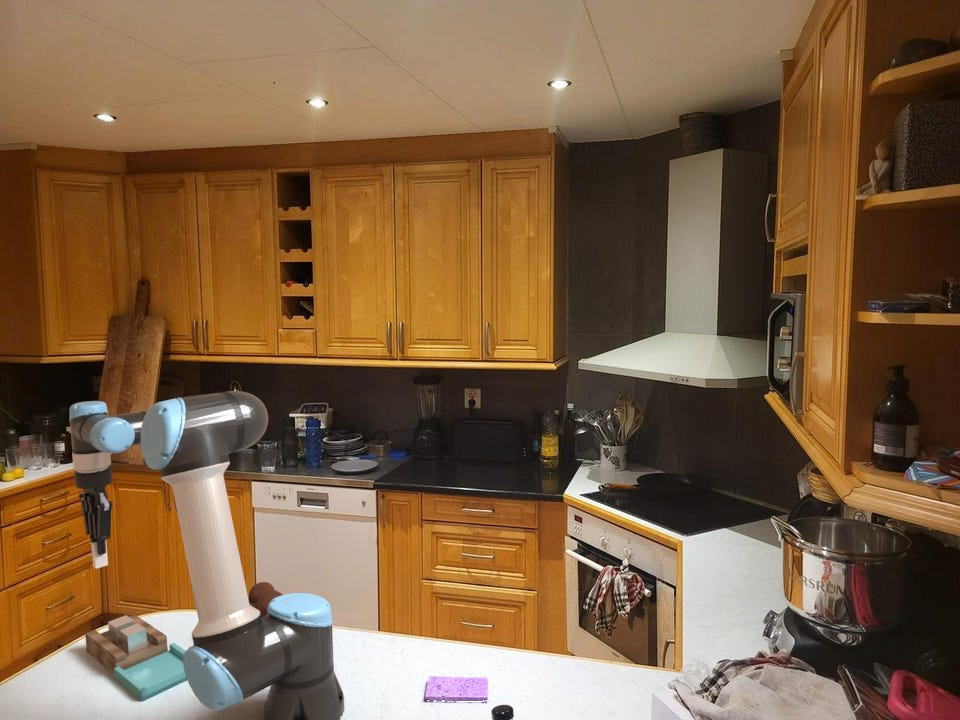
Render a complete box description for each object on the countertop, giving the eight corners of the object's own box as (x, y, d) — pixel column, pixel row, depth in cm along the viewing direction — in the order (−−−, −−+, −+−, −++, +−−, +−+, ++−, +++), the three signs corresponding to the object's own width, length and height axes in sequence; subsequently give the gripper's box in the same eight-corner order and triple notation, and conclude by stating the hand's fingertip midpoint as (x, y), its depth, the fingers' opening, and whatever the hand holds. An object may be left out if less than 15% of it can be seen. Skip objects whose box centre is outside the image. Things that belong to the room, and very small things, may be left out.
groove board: (167, 654, 152) (166, 635, 152) (117, 676, 144) (115, 657, 143) (136, 632, 162) (134, 614, 162) (86, 651, 154) (85, 633, 154)
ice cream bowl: (230, 657, 151) (227, 593, 149) (260, 632, 162) (257, 572, 160) (271, 664, 148) (268, 599, 146) (299, 638, 159) (296, 577, 157)
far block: (135, 637, 154) (133, 620, 154) (117, 644, 151) (115, 627, 151) (127, 631, 157) (126, 615, 156) (109, 638, 154) (108, 622, 153)
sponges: (428, 683, 141) (428, 675, 141) (488, 684, 141) (488, 676, 140) (424, 704, 134) (424, 696, 134) (488, 705, 134) (487, 696, 133)
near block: (147, 645, 151) (146, 628, 150) (128, 653, 148) (127, 636, 147) (139, 639, 153) (137, 623, 153) (120, 647, 150) (119, 630, 150)
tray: (203, 672, 145) (203, 662, 145) (142, 701, 135) (141, 691, 135) (174, 651, 154) (173, 642, 153) (114, 677, 144) (113, 668, 143)
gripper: (122, 469, 154) (129, 568, 157) (98, 460, 162) (105, 554, 165) (86, 477, 148) (95, 579, 151) (64, 467, 157) (72, 564, 159)
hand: (100, 566), depth 158 cm, fingers closed
